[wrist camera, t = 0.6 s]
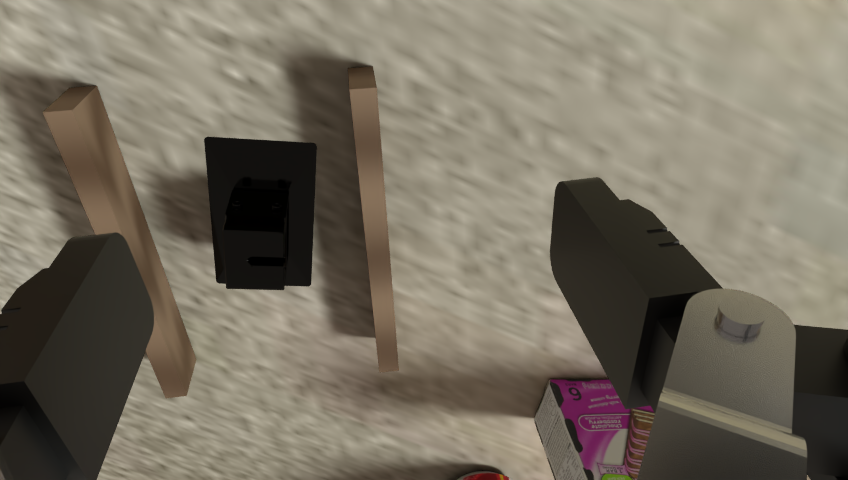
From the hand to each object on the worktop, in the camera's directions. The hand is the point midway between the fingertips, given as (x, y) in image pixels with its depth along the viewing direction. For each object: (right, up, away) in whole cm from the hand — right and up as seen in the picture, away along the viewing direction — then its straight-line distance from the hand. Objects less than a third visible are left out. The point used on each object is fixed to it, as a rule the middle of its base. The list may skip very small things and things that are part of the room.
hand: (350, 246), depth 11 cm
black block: (-8, +2, +21) cm, 23 cm away
